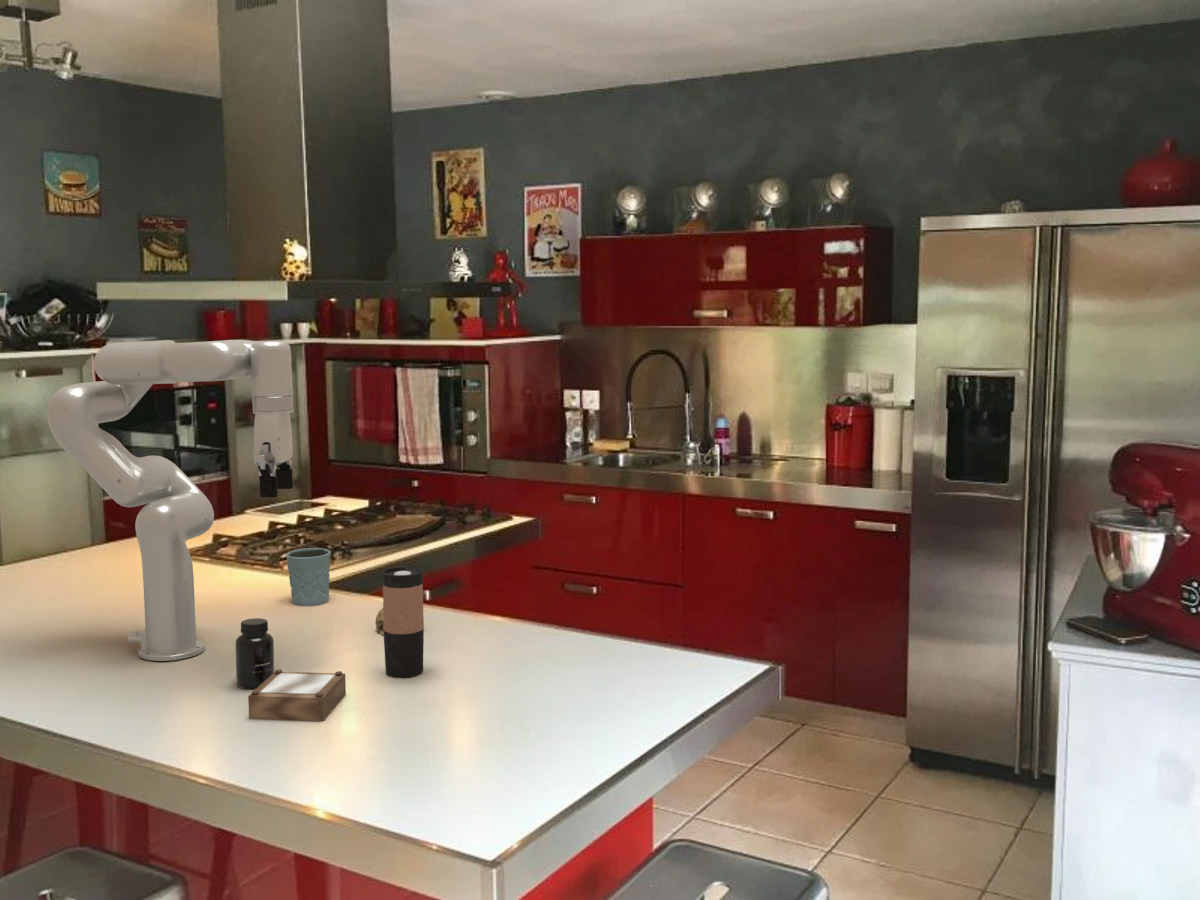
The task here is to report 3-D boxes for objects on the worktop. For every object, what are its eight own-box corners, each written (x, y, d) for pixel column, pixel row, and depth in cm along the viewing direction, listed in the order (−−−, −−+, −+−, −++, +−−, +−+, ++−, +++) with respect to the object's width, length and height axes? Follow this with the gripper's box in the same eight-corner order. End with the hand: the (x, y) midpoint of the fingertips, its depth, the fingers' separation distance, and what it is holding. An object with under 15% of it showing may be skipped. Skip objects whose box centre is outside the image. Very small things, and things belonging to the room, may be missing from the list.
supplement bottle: (263, 691, 208) (261, 627, 207) (229, 688, 210) (227, 625, 208) (281, 679, 215) (279, 617, 213) (248, 676, 216) (246, 615, 215)
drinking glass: (340, 600, 272) (339, 551, 270) (308, 609, 263) (307, 559, 262) (310, 594, 277) (309, 546, 276) (278, 603, 269) (276, 553, 267)
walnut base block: (249, 718, 195) (248, 693, 194) (276, 692, 207) (275, 668, 207) (323, 720, 194) (322, 695, 193) (345, 694, 206) (345, 670, 206)
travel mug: (391, 680, 214) (389, 577, 212) (379, 669, 221) (377, 568, 218) (429, 674, 218) (428, 572, 215) (417, 663, 224) (415, 564, 222)
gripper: (268, 401, 227) (272, 485, 230) (238, 409, 210) (242, 500, 212) (305, 401, 227) (308, 485, 229) (278, 409, 210) (282, 500, 212)
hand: (277, 492), depth 221 cm, fingers open, 9 cm apart
